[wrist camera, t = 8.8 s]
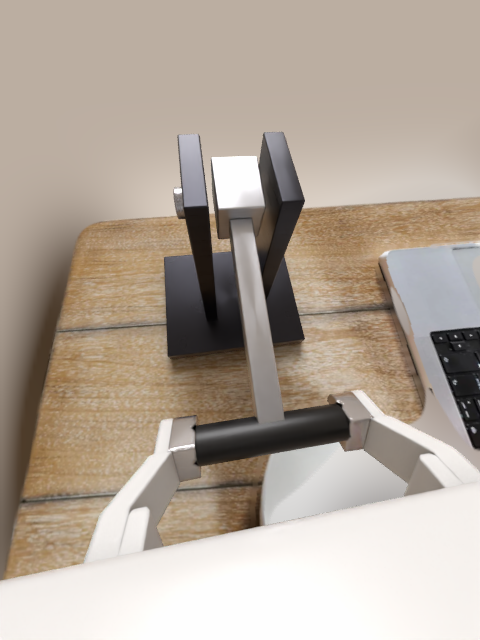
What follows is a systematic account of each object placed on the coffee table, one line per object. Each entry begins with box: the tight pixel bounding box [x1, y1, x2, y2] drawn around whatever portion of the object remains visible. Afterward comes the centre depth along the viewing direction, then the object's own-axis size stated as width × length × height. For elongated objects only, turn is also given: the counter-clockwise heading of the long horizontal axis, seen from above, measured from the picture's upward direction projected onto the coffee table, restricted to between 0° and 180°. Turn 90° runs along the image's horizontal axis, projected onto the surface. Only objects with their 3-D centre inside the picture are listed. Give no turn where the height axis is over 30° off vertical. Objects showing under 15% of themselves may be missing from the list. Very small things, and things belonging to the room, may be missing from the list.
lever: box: [195, 156, 350, 466], centre depth 11 cm, size 13×6×2 cm, turn 8°
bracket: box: [164, 132, 305, 359], centre depth 17 cm, size 10×12×14 cm
